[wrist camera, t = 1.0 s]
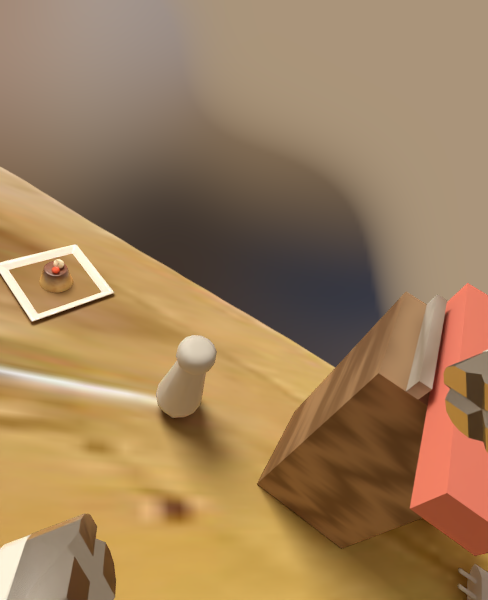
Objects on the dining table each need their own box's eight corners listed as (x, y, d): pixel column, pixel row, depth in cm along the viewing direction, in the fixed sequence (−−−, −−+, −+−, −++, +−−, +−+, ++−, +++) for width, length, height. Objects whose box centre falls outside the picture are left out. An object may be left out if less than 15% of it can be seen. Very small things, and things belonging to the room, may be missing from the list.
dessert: (32, 326, 49) (29, 303, 46) (-5, 269, 54) (-10, 244, 50) (114, 297, 57) (116, 275, 54) (76, 249, 61) (76, 226, 58)
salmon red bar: (409, 508, 21) (447, 492, 19) (445, 303, 36) (467, 282, 34) (474, 555, 20) (521, 544, 18) (482, 326, 36) (507, 307, 34)
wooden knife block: (256, 483, 45) (390, 362, 26) (294, 411, 53) (415, 280, 34) (341, 548, 43) (551, 468, 24) (366, 463, 51) (536, 354, 33)
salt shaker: (144, 399, 47) (160, 340, 38) (178, 376, 51) (200, 318, 42) (173, 434, 45) (197, 381, 37) (206, 407, 49) (235, 353, 40)
